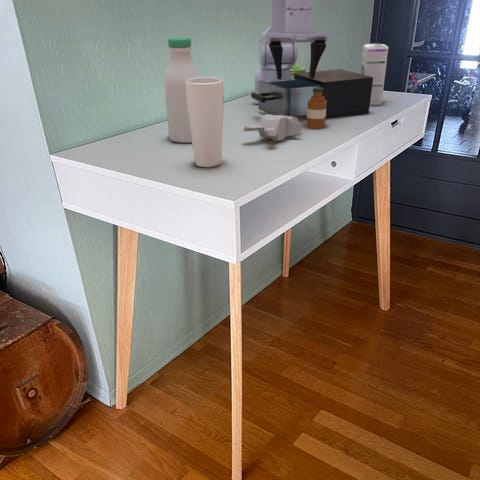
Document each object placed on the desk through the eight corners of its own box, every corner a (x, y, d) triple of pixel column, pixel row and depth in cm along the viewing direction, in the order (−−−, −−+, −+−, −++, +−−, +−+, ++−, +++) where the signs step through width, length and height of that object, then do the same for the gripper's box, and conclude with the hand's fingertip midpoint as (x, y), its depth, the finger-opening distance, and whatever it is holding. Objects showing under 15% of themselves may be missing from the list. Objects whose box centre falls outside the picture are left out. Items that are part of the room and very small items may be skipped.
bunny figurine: (311, 115, 112) (276, 121, 102) (308, 139, 115) (274, 147, 104) (275, 110, 117) (238, 115, 106) (273, 133, 120) (237, 140, 109)
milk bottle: (198, 144, 109) (192, 39, 98) (164, 142, 111) (154, 39, 99) (207, 134, 115) (202, 35, 104) (175, 133, 117) (167, 35, 105)
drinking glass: (225, 158, 101) (223, 76, 92) (225, 169, 95) (223, 83, 87) (191, 159, 101) (186, 77, 92) (189, 170, 95) (183, 84, 87)
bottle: (302, 125, 121) (304, 87, 116) (316, 123, 123) (319, 85, 118) (313, 129, 118) (316, 90, 113) (328, 127, 120) (332, 88, 115)
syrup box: (381, 105, 138) (390, 45, 130) (360, 105, 138) (367, 46, 130) (377, 101, 143) (385, 43, 135) (356, 101, 143) (363, 43, 135)
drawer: (267, 121, 121) (268, 91, 117) (244, 110, 131) (244, 82, 127) (329, 114, 127) (331, 84, 123) (302, 103, 137) (304, 76, 133)
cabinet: (320, 119, 126) (323, 82, 121) (292, 107, 137) (294, 73, 132) (368, 113, 131) (373, 77, 126) (337, 102, 142) (340, 69, 137)
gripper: (268, 11, 104) (267, 82, 112) (336, 9, 106) (330, 80, 113) (263, 9, 110) (262, 76, 118) (328, 7, 111) (322, 74, 119)
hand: (295, 78), depth 116 cm, fingers open, 7 cm apart
